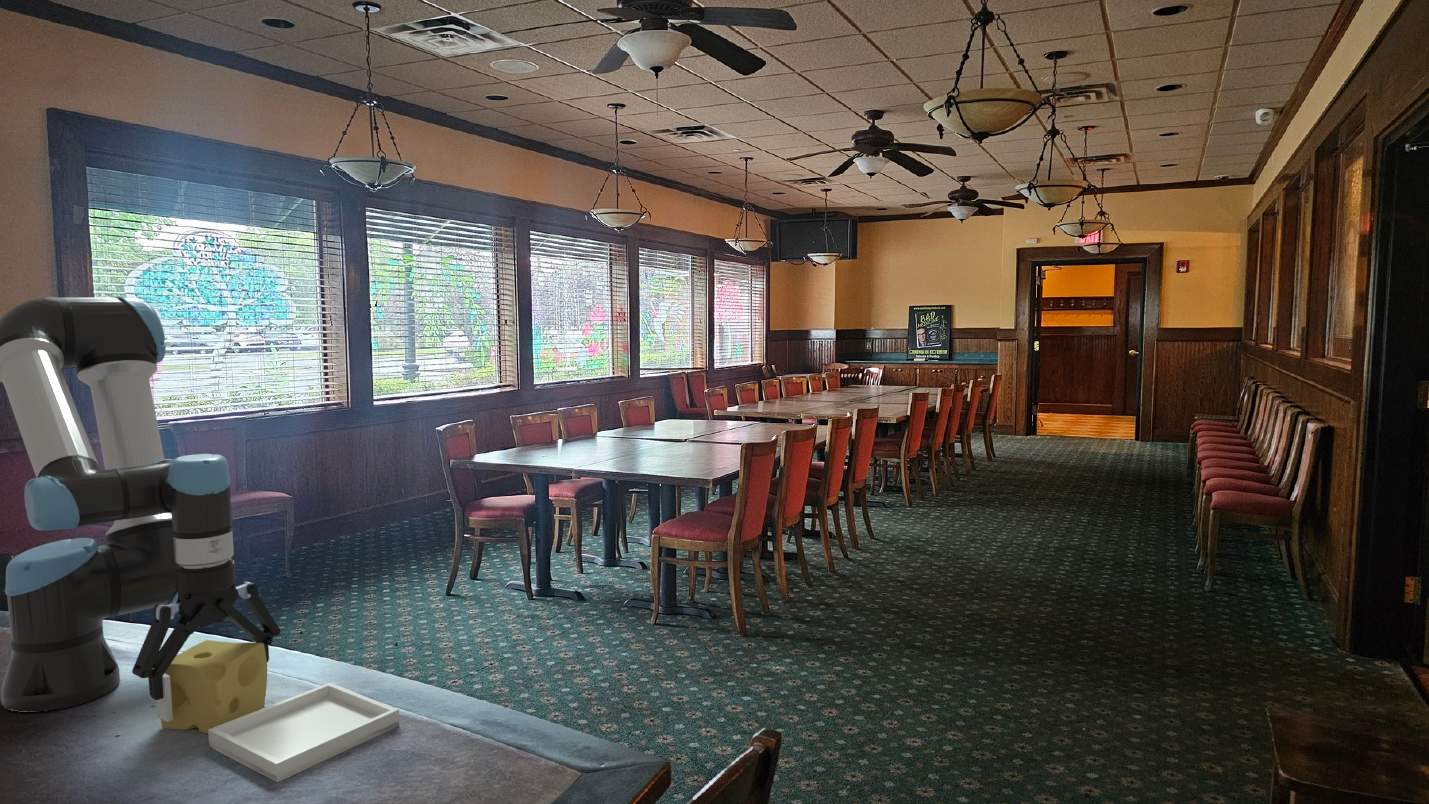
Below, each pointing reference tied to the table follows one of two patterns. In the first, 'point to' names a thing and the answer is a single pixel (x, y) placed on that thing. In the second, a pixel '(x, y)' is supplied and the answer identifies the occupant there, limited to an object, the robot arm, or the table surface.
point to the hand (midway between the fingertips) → (213, 701)
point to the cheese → (216, 684)
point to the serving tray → (302, 730)
